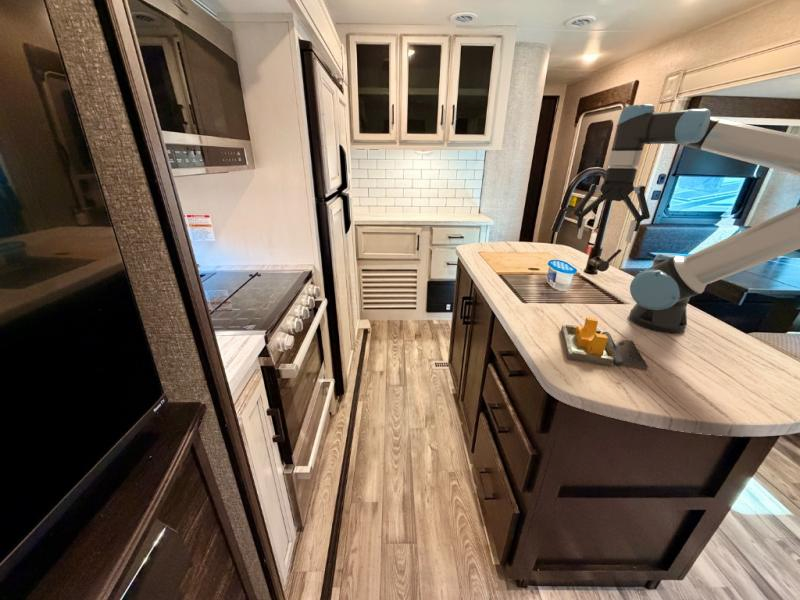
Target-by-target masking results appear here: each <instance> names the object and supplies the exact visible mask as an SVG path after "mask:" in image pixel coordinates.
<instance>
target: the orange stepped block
mask: <svg viewBox="0 0 800 600" xmlns="http://www.w3.org/2000/svg"><path fill="white" fill-rule="evenodd" d="M598 321H599V320H598V319H597V317H586V318H585V322H584V325H583V326H581V325H576V326H577V330H576V334H575V336H576V338H577V341H578V343H579V345H580V346H584V347H587V349H588V351H589V353H592V354H598V355H603V353H604V350H606V343H607V340H608V337H607V336H606V335H605V334H602V333H600V334H597V332H596V331H597V329H598V328H597V327H598V324H599V323H598Z"/></svg>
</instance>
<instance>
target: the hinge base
mask: <svg viewBox="0 0 800 600" xmlns="http://www.w3.org/2000/svg"><path fill="white" fill-rule="evenodd" d="M577 326H578V325H571V324H564V325H563V324H562V326H561V329H560V331H561V336H562V340H563V346H564V351H565V354H566V359H567V360H568V361H574V362H581V363H585V364H591V365H597V366H603V367H608V368H612V366H615V367H626V368H632V369H637V370H642V371H643V370H644V371H648V369H649V366H648V364H647V362H646V361H645V358H644V357H643V356H642V355H641V353H640V351H639V349H638V348H637V345H636V344H635V342H634V340H630V339H623V338H617V337H612V335H611V334H610V332H608V331H603V332H602V330H601V329H600V328H597V331H596V332H597V334H605V335H606V336H607V337H608V340H607V343H606V346H605V350H604V353H603V355H598V354H592V353H589V351H588V349H587V347H584V346H580V345H579V343H578V341H577V338H576V336H575V334H576V330H577Z"/></svg>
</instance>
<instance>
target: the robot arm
mask: <svg viewBox="0 0 800 600" xmlns="http://www.w3.org/2000/svg"><path fill="white" fill-rule="evenodd" d="M711 114H712V113H711V110H710V109H708V108H700V109H699V108H690V109H684V110H682V109H681V110H672V111H662V112H660V111H659V112H657V111H656V112H655V105H654V104H648V103H646V104H645V103H644V104H632V105H628V106H625V107H624V108H623V109H622V110H621V111H620V115H619V120H618V122H617V124H616V128H615V129H616V130H615V135H614V138H613V143H612V148H611V150H610V154H609V155H610V156H609V160H608V163H607V166H608V167H609V168H608V167H607V169H606V171H605V175H604V179H603V182H602V184H601V185H597V184H593V183H592V184H591V185H590V187H589V189H588V191H587V193H586V194H585V195H584V197H583V198H582V200H580V202H579V204H577V206H576V207H575V209H574V210H573V211H572V215H574V216H576V217H577V220H576V221H577V222H576V228H577V229H578V232H577V240H582V238H583V233H584V229H585V225H586V221H587V218H586V216H587V215H588V214H589V213H590V212H591V211H593V210H594V209H595V208H596V207H598V206H599V205H600V204H601V203H604V202H605V200H606V201H608V202H613V201H615V202H621V201H623V202H624V204H625V205H626V207H627V209H628V210H629V212H630V213H631V214H632V216H633V217H634V219H631V220H630V224H629V227H628V230H627V235H626V238H625V242H626V243H630V244H631V243H632V241H633V240H632V239H633V236H634V233H636V232H638V231H639V228H640V225H641V222H642V221H644V220H649V219H650V218H651V215H650V211H649V207H648V204H647V203H648V202H647V199H646V196H645V192H646V186H645V185H641V184H640V185H637V186H634V182H635V180H636V176H637V172H638V170H637V168H636V167H638V166H639V165H640V161H641V158H642V153H643V151H644V148H645V145H656V144H657V145H669V144H670V145H680V146H684V147H689V148H693V149H696V150H699V151H704V152H709V153H712V154H715V155H720V156H723V157H727V158H731V159H735V160H739V161H743V162H747V163H749V164H752V165H753V164H754V165H757V166H760V167H761V166H762V167H764V168H769V169H772V170H775V171H776V170H777V171H779V172H783V173H786V174H787V173H788V174H790V175H795V176H799V177H800V135H798V134H794V133H789V132H785V131H779V130H774V129H770V128H765V127H760V126H756V125H755V126H754V125H751V124H745V123H740V122H735V121H731V120H725V119H720V118H718V117H717V118H716V117H711V116H712V115H711ZM599 190H600V192H601V194H600V195H599V196H598V197H597V198H596V199H595V200H593V202H591V203H590V204H589V205H588V206H586V204H587V203H589V201H590V199H592V197H593V195H594V194H595V193H597V192H598V191H599ZM633 191H634V194H636V198H637V201H638V205H639V209H640V211H641V213H640V212H639V211H638V209H637V207H636V206H635V205H634V203H633V201H632V199H631V198H630V196H629V195H631V193H632V192H633ZM584 207H585V208H584ZM798 250H800V204H798V205H795V206H794V207H792V208H790V209H788V210H786V211H783V212H781V213H779V214H776V215H775V216H772V217H771V218H768V219H766V220H764V221H761V222H759V223H757V224H755V225H753V226H750V227H749V228H746V229H744V230H741V231H740V232H738V233H736V234H733V235H731V236H729V237H727V238H725V239H723V240H720V241H717V242H716V243H713V244H712V245H710V246H707V247H705V248H703V249H700V250H699V251H696V252H695V253H692V254H690V255H688V256H685V255H679V254H671V253H657V254H656V256H655V257H654V258H653V260H652V262H653V263H652V265H651V266H650V267H649V268H647V269H645V270H642V271H640V272H638V273H637V274H635V276H634V278H633V279H631V282H630V285H629V291H630V292H629V293H630V296H631V298H632V299H633V301H634V302H635V303H636V304H634V306H633V307H632V308H631V310H630V313H629V315H628V318H629V320H630V321H631V322H632V323H633V324H636V325H637V326H639V327H642V328H643V329H646V330H649V331H653V332H657V333H662V334H670V335H671V334H673V335H674V334H677V335H678V334H681V333H683V332H685V330H686V328H687V325H688V317H687V306H688V304H689V301H690V298H691V297H694V296H697V295H700V294H703V292H704V291H705V288H706V287H707V285H708V284H712V283H715V282H717V281H720V280H722V279H725V278H728V277H730V276H732V275H735V274H738V273H741V272H743V271H745V270H748V269H750V268H753V267H756V266H759V265H761V264H764V263H766V262H769V261H771V260H772V261H773V259H774V260H775V259H777V258H779V257H782V256H785V255H788V254H790V253H791V252H795V251H798Z"/></svg>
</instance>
